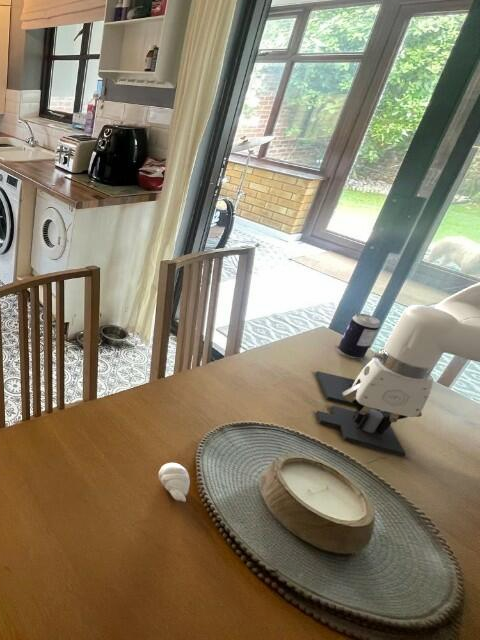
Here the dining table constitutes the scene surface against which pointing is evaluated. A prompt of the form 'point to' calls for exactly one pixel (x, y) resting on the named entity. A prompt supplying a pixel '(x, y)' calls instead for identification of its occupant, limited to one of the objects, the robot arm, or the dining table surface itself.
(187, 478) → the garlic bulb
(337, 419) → the pad
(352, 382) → the notch pad
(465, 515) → the dining table surface
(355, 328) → the beverage can
